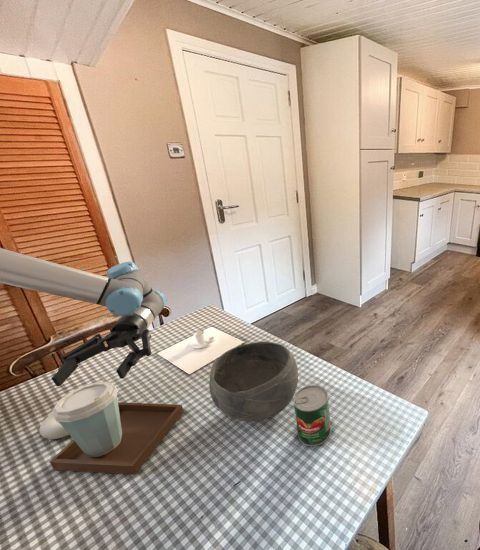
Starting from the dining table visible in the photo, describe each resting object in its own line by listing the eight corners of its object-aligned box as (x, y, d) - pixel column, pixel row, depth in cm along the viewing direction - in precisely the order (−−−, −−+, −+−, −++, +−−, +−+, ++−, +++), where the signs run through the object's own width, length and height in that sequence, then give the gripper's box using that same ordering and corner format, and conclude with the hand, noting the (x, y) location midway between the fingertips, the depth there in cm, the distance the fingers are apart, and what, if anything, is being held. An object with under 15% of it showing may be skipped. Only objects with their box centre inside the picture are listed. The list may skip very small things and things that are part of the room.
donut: (100, 422, 77) (91, 402, 83) (96, 412, 75) (86, 393, 81) (46, 450, 70) (39, 427, 75) (39, 440, 68) (34, 416, 74)
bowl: (220, 390, 86) (209, 346, 81) (295, 372, 93) (290, 331, 88) (214, 454, 68) (200, 403, 63) (307, 425, 75) (302, 377, 69)
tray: (53, 470, 65) (48, 461, 64) (116, 409, 80) (113, 401, 79) (135, 474, 64) (132, 466, 63) (184, 412, 79) (181, 404, 78)
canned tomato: (326, 414, 78) (323, 381, 74) (334, 440, 71) (332, 404, 67) (295, 424, 75) (291, 390, 71) (301, 451, 69) (296, 415, 64)
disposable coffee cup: (63, 457, 67) (35, 406, 61) (114, 420, 76) (94, 372, 71) (96, 472, 64) (69, 420, 58) (145, 431, 73) (126, 382, 68)
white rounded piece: (220, 341, 109) (218, 331, 107) (199, 352, 103) (196, 342, 101) (206, 334, 113) (203, 324, 112) (184, 344, 107) (182, 335, 106)
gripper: (181, 330, 94) (150, 382, 76) (91, 339, 90) (36, 396, 72) (174, 310, 91) (140, 359, 72) (80, 318, 87) (19, 373, 68)
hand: (88, 378), depth 72 cm, fingers open, 13 cm apart
